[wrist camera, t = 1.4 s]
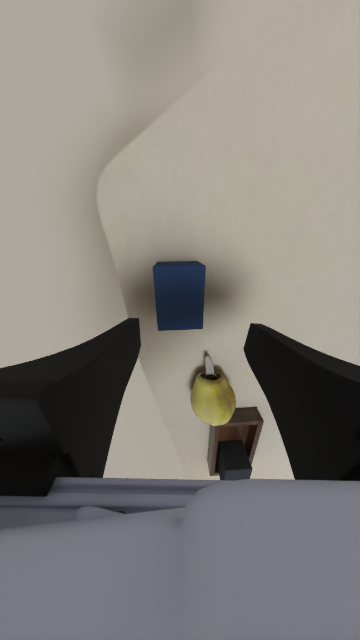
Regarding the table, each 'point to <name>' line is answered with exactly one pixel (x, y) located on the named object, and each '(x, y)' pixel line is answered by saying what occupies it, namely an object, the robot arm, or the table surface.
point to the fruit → (212, 396)
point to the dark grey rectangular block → (233, 461)
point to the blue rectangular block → (179, 295)
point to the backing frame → (236, 434)
